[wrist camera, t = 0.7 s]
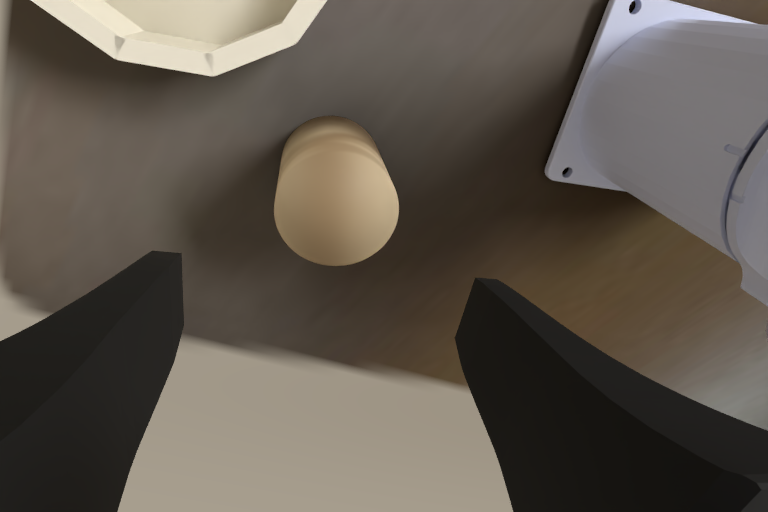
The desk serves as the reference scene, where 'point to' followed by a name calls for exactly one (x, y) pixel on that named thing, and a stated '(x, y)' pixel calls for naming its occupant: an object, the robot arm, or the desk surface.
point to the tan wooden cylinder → (334, 193)
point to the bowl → (187, 29)
